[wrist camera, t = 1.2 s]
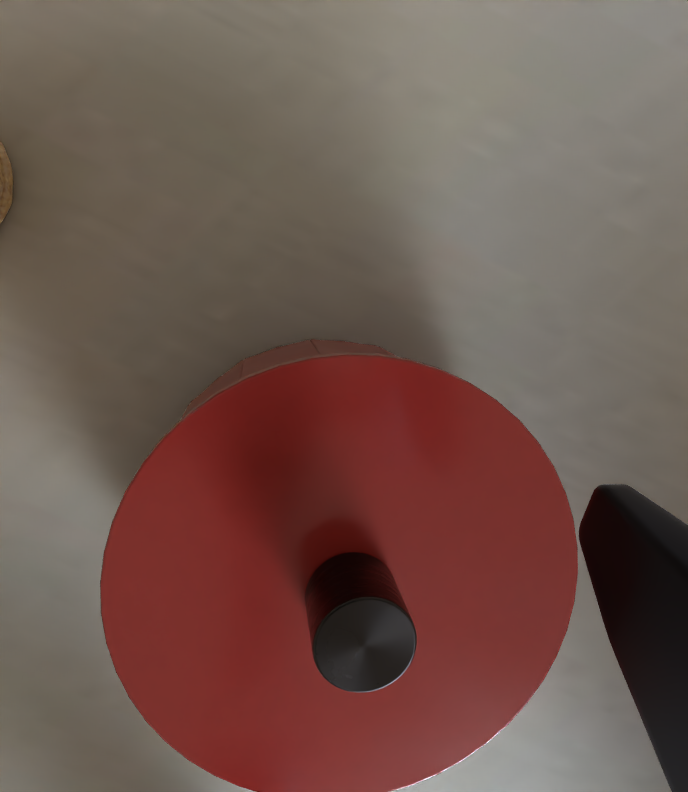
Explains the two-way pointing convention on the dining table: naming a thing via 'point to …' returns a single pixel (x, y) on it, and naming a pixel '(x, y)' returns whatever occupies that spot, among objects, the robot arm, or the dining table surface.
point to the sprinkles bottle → (5, 183)
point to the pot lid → (338, 575)
